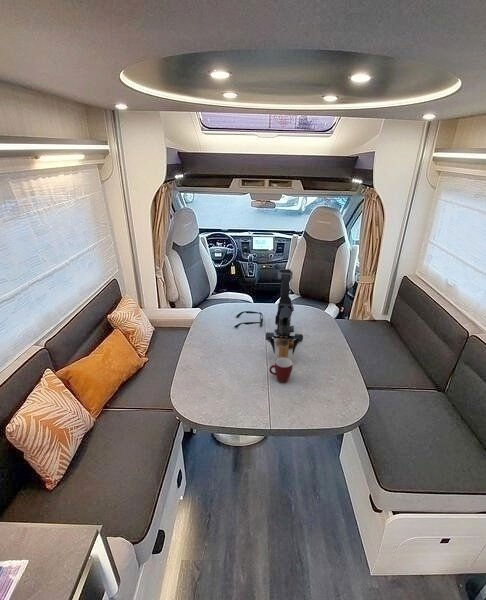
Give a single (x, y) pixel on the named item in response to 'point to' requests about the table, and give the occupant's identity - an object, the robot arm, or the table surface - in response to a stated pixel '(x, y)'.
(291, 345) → the bread roll
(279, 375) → the mug
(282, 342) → the pepper mill
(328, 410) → the table surface
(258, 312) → the glasses
